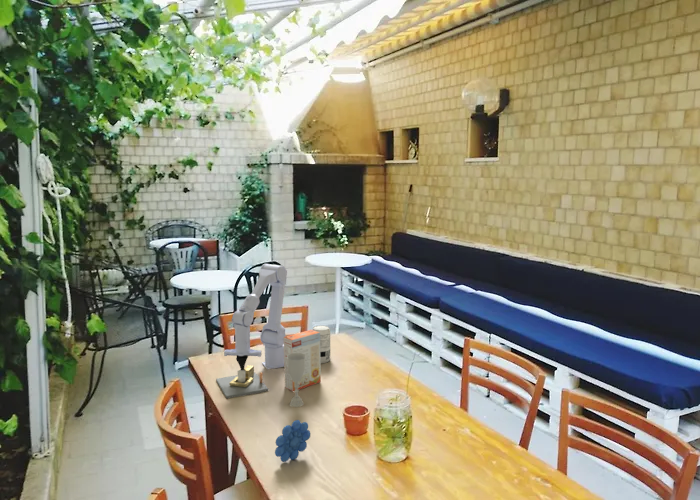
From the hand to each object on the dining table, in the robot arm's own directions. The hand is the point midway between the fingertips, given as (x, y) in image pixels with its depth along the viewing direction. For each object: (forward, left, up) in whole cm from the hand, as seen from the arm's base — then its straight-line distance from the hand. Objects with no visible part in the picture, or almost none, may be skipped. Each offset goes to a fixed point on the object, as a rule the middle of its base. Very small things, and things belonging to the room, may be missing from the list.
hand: (243, 372), depth 218 cm
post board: (+2, +5, -3) cm, 6 cm away
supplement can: (-37, -8, -4) cm, 38 cm away
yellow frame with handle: (0, +3, -2) cm, 3 cm away
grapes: (+2, +63, -3) cm, 63 cm away
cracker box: (-20, +14, -4) cm, 25 cm away
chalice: (-12, +29, -3) cm, 32 cm away
